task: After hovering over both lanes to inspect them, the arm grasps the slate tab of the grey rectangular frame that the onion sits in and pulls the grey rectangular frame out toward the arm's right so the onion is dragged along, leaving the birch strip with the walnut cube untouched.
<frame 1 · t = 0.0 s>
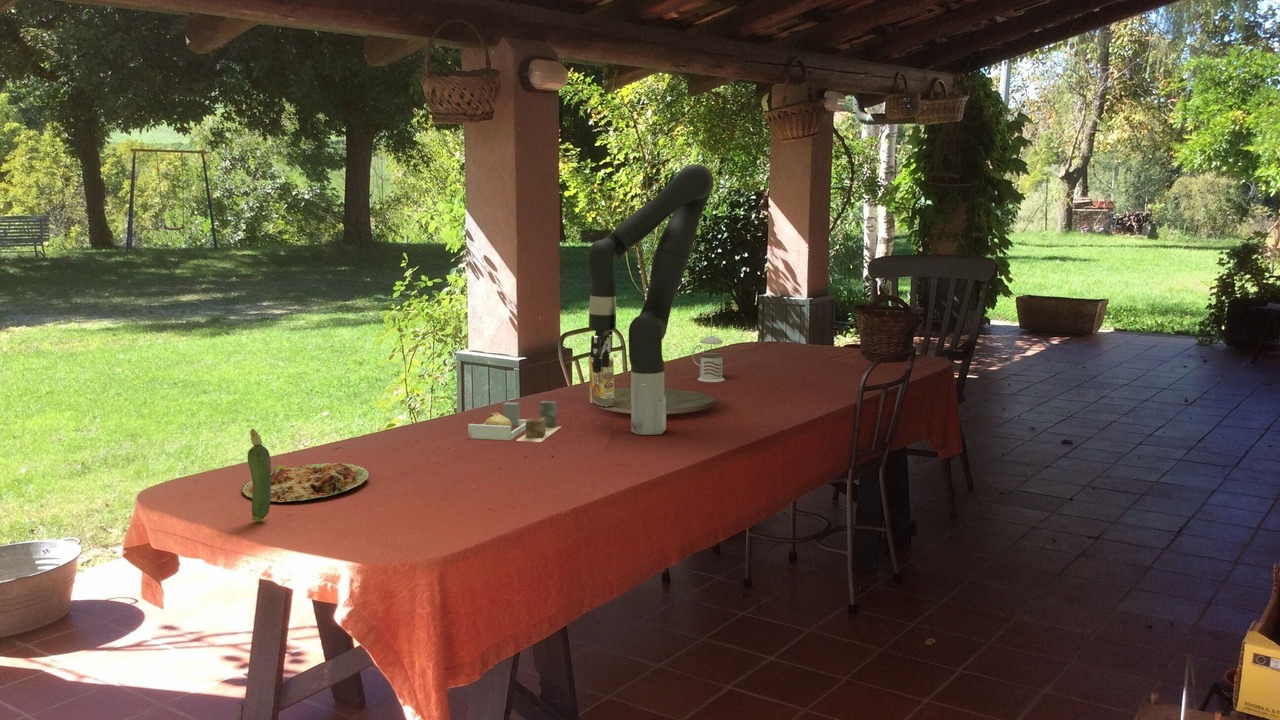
hand: (601, 369, 285), 17 cm above the table, tool pointing down, fingers open, 8 cm apart
grey rectangular frame: (501, 421, 281), point 4 cm above the table, slide at 0.0 cm
french press: (708, 379, 362), on the table
candy box: (601, 405, 321), on the table
onion: (498, 438, 279), resting in grey rectangular frame
rice dish: (307, 488, 234), on the table
vegetable: (263, 523, 209), on the table
birch strip: (539, 437, 279), on the table
walnut cube: (535, 435, 276), point 1 cm above the table, touching birch strip
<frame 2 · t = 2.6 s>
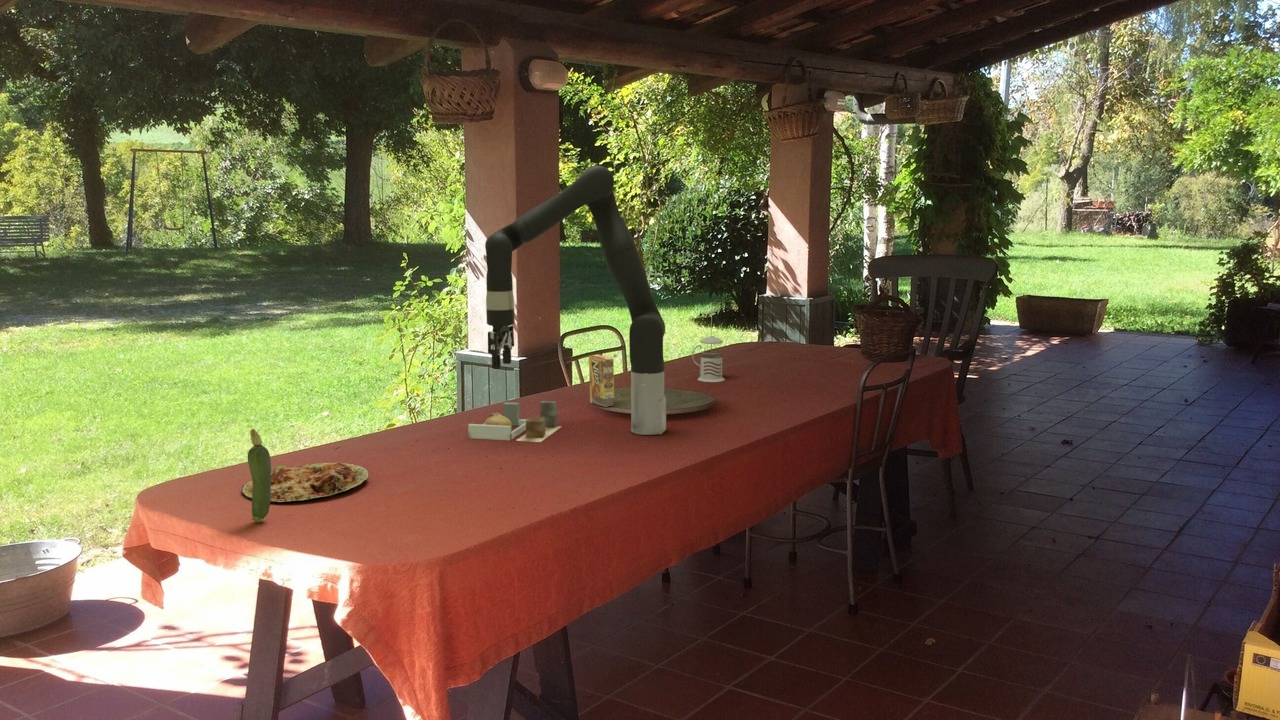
hand: (501, 366, 279), 19 cm above the table, tool pointing down, fingers open, 8 cm apart
nothing on the table moved.
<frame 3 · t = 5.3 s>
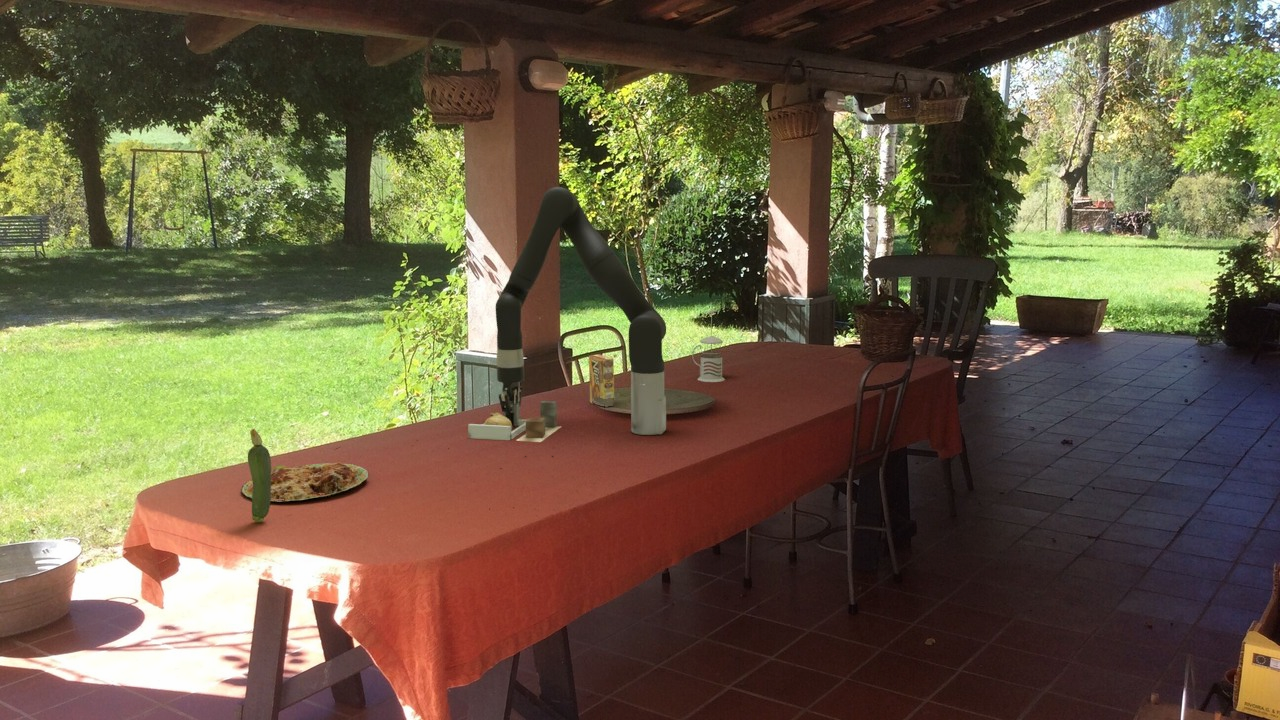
hand: (511, 424, 289), 1 cm above the table, tool pointing down, fingers closed on grey rectangular frame, 2 cm apart
grey rectangular frame: (501, 421, 281), point 4 cm above the table, slide at 0.0 cm, touching gripper
everything else where it was.
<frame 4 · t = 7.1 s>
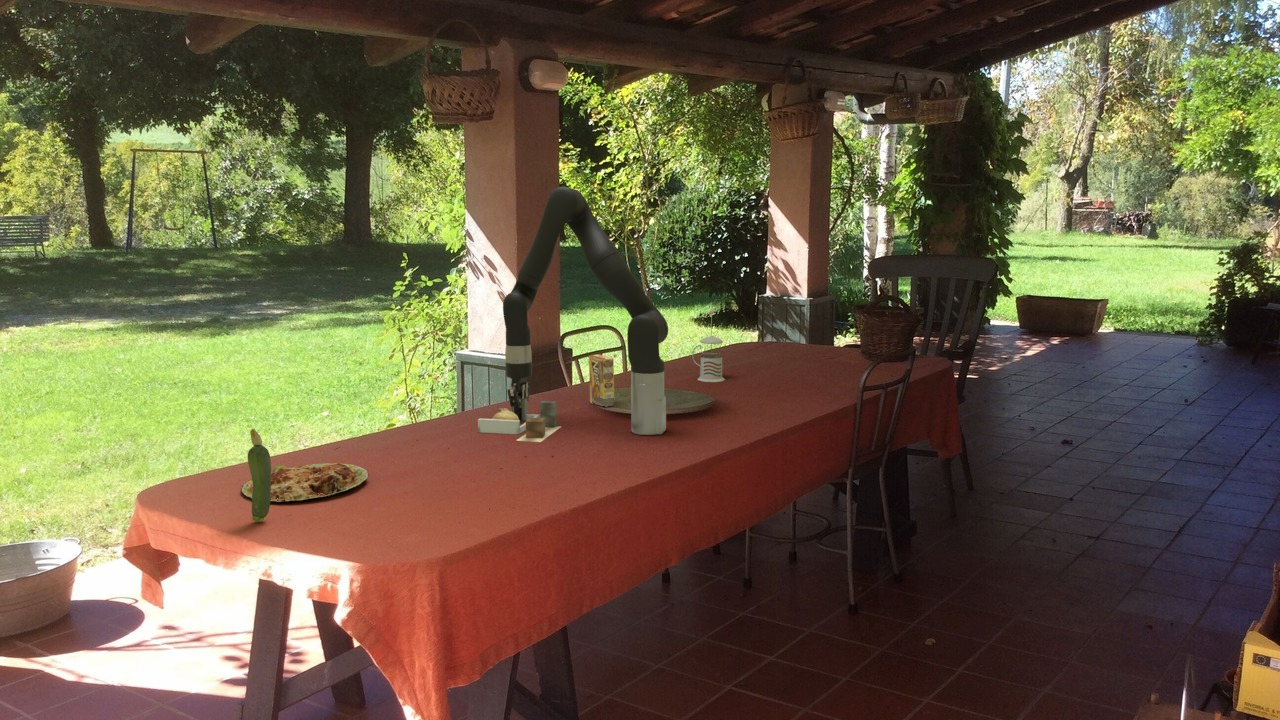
hand: (519, 418, 295), 1 cm above the table, tool pointing down, fingers closed on grey rectangular frame, 2 cm apart
grey rectangular frame: (509, 416, 287), point 4 cm above the table, slide at 6.8 cm, touching gripper
onion: (505, 433, 284), resting in grey rectangular frame
everything else where it was.
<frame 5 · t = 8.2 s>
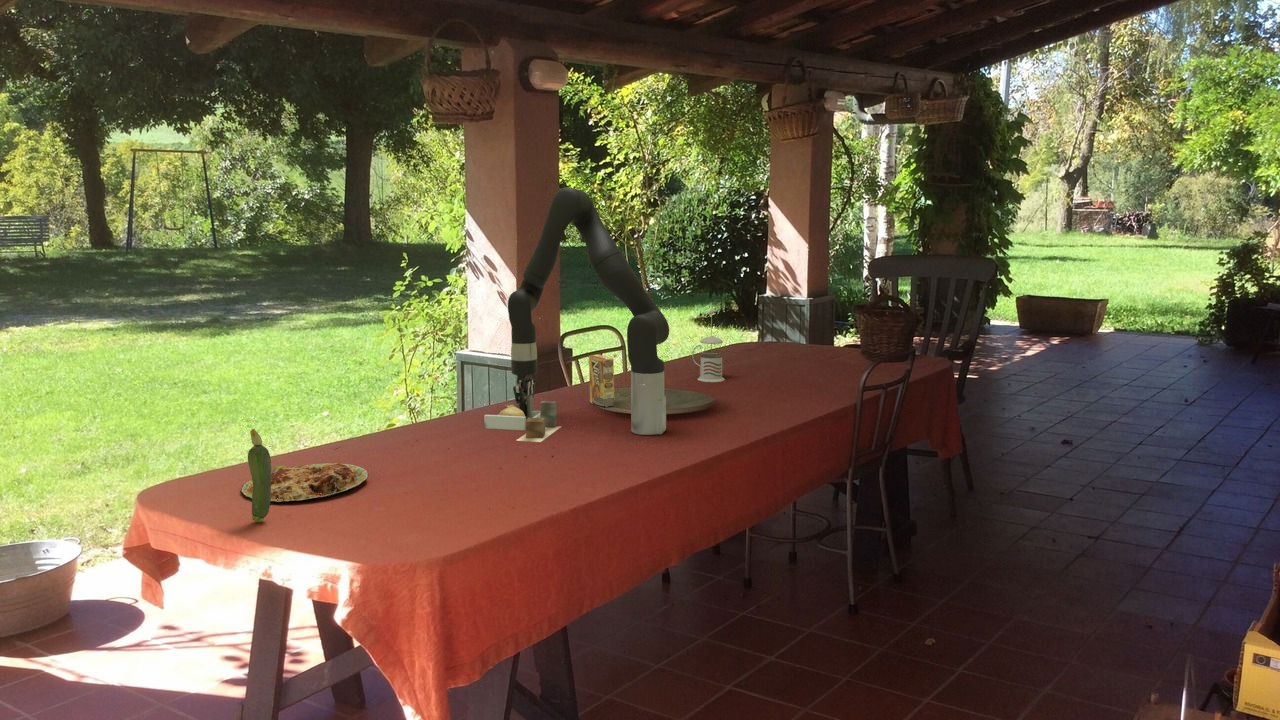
hand: (525, 415, 300), 1 cm above the table, tool pointing down, fingers closed on grey rectangular frame, 2 cm apart
grey rectangular frame: (515, 412, 292), point 4 cm above the table, slide at 11.5 cm, touching gripper, onion
onion: (512, 430, 288), resting in grey rectangular frame
everything else where it was.
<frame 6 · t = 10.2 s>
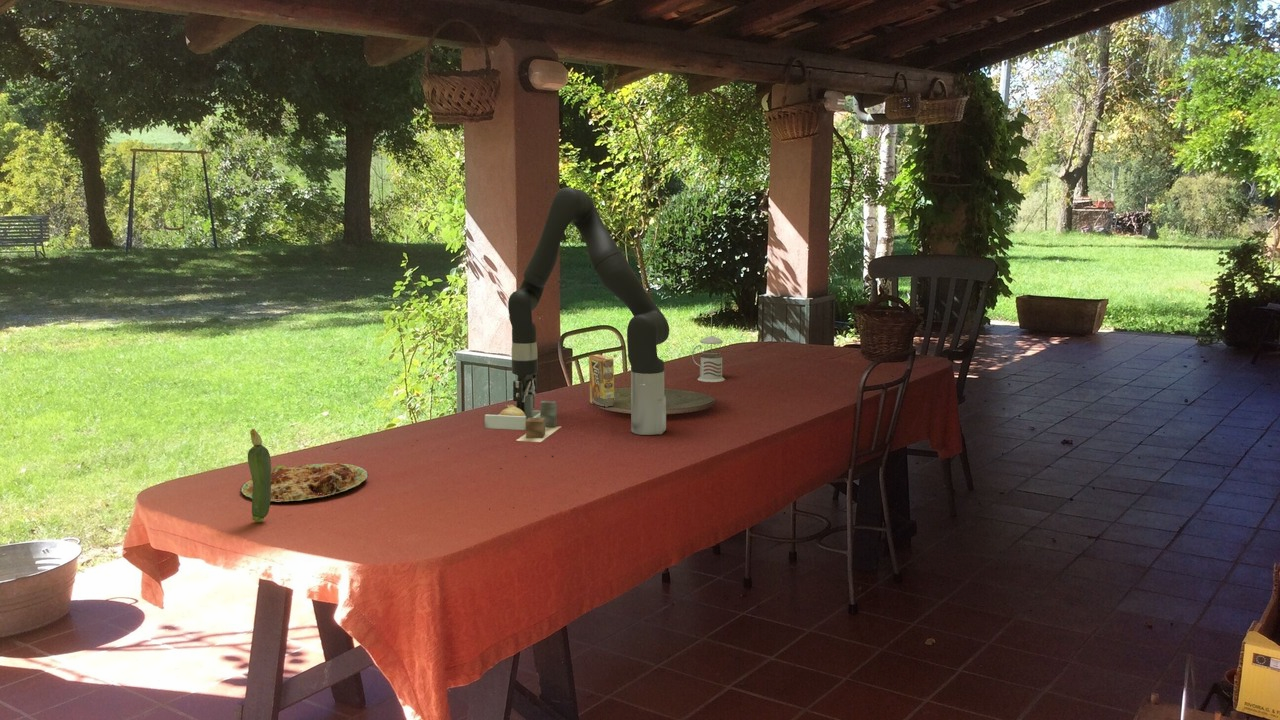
hand: (525, 411, 300), 2 cm above the table, tool pointing down, fingers open, 8 cm apart
grey rectangular frame: (516, 412, 292), point 4 cm above the table, slide at 11.9 cm
onion: (512, 430, 289), resting in grey rectangular frame
everything else where it was.
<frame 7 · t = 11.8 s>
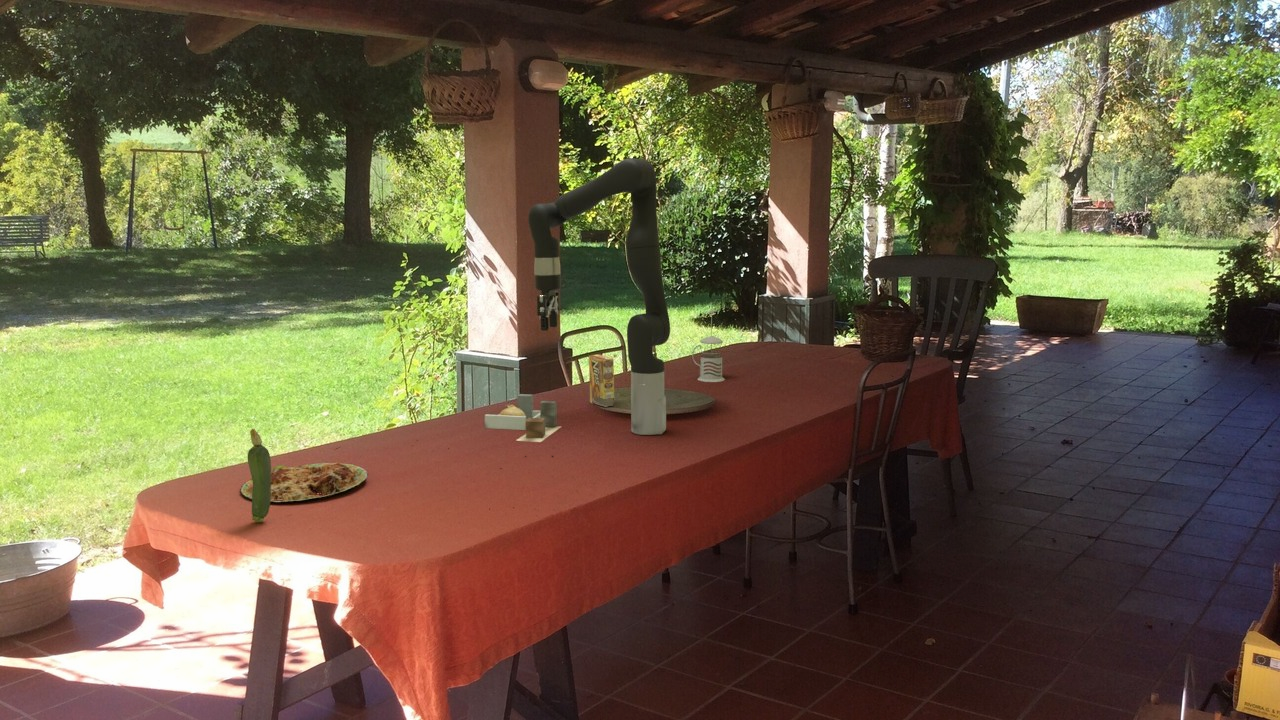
hand: (549, 328, 298), 27 cm above the table, tool pointing down, fingers open, 8 cm apart
nothing on the table moved.
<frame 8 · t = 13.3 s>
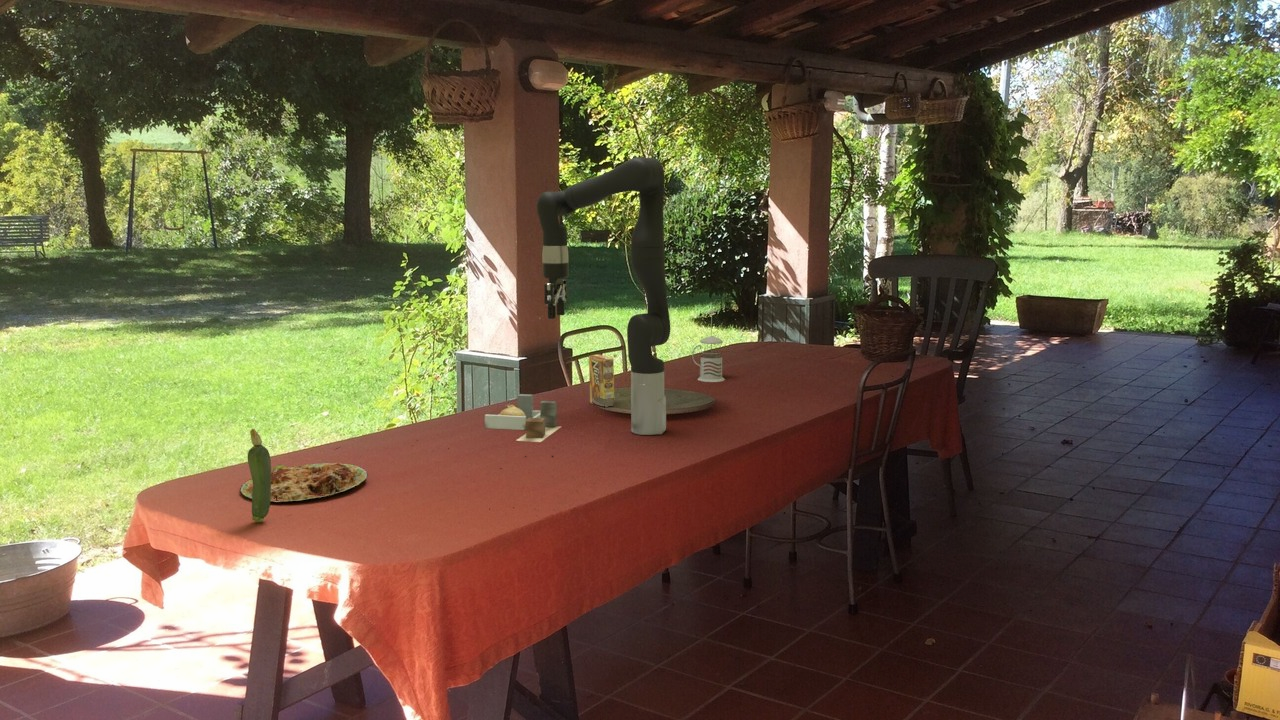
hand: (556, 316, 298), 30 cm above the table, tool pointing down, fingers open, 8 cm apart
nothing on the table moved.
at the end: grey rectangular frame slide at 11.9 cm; onion moved 10.6 cm from its start; onion inside the target area (0.9 cm from its centre), resting in grey rectangular frame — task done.
